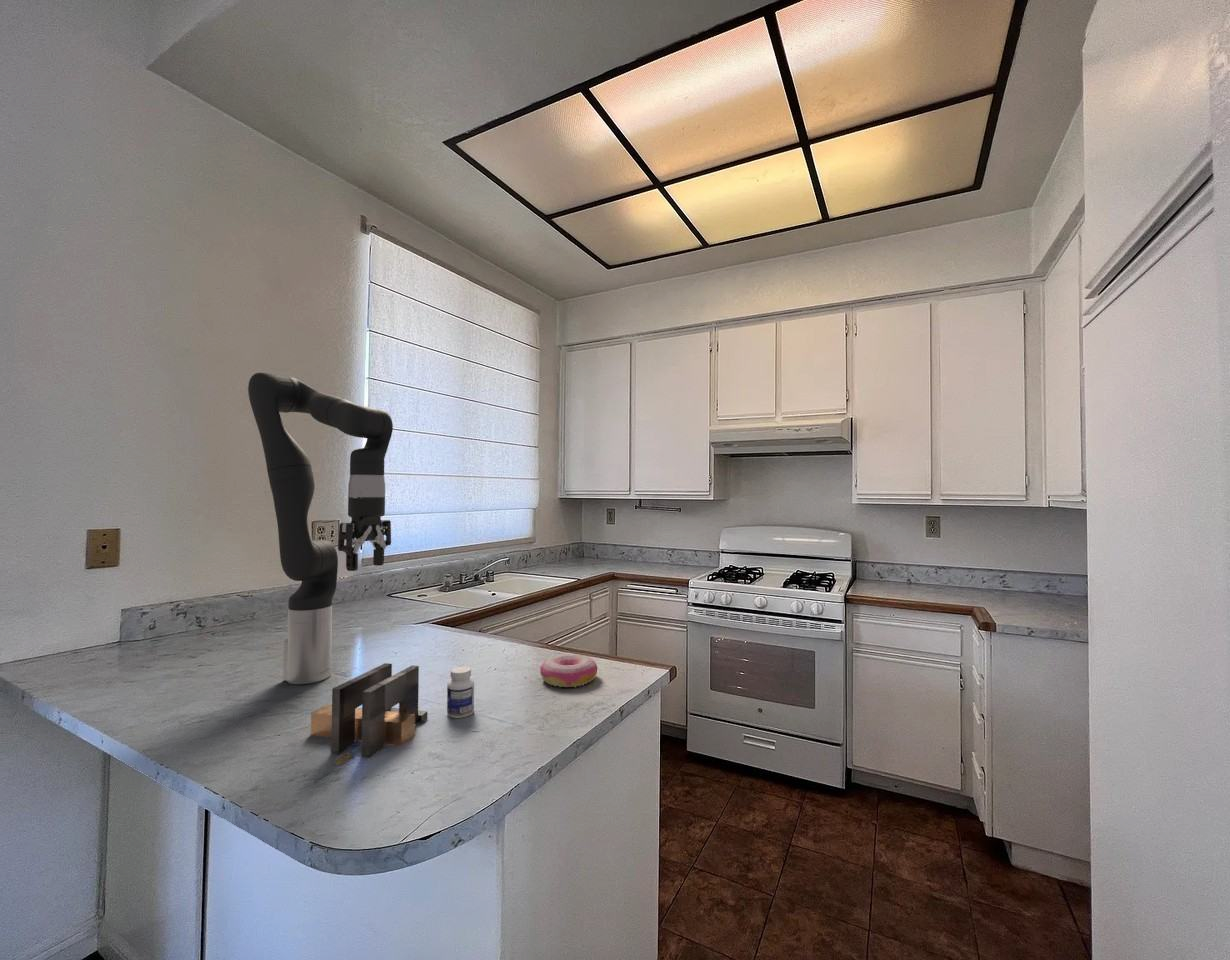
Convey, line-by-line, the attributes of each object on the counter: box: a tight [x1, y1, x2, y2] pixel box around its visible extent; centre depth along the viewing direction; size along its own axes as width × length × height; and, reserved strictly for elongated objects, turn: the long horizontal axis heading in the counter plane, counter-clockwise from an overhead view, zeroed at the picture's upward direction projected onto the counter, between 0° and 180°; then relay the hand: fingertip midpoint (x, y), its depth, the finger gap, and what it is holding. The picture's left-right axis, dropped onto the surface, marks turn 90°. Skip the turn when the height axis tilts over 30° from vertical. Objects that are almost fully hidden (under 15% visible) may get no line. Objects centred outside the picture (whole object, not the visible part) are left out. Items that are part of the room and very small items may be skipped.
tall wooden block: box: [310, 704, 416, 747], centre depth 96 cm, size 19×4×4 cm, turn 77°
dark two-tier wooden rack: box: [330, 662, 428, 766], centre depth 95 cm, size 9×19×11 cm, turn 167°
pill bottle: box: [446, 666, 475, 719], centre depth 106 cm, size 5×5×9 cm
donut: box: [539, 653, 598, 688], centre depth 126 cm, size 14×13×5 cm
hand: (365, 567), depth 117 cm, fingers open, 8 cm apart
